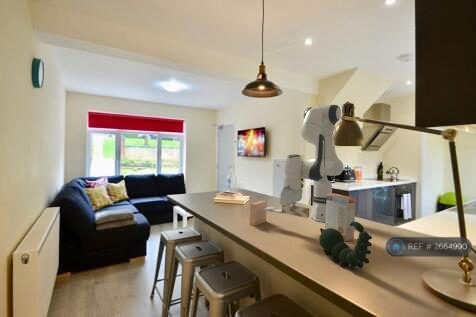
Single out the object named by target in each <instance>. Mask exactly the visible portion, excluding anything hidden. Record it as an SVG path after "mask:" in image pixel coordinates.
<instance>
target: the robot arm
mask: <svg viewBox="0 0 476 317" xmlns="http://www.w3.org/2000/svg"><path fill="white" fill-rule="evenodd" d="M341 116H342V111H341V107H340V106H339V105H338V104H321V105H316V106H311V107H307V108H306V109H305V110H304V112H303V121H302V124H301V129H300V135H301V137H302V139H303V140H305V141H306V142H308V143H310V144H312V145H314V147H315V155H314V157H311V158H309V159H308V160H307V161H306V160H303V159H302V156H301V155H300V154H288V155H287V156H286V157H285V160H284V168H283V169H284V170H283V171H284V177H283V184H282V185H283V188H282V189H281V191H280V197H279V204H280V205H281V206H282V205H286V207H287V212H291V208H290V206H291V205H293V206H297V205H296V204H297V202H300V201H302V198H303V192H304V191H303V188H304V187H305V186H304V182H301V181H302V179H304V180H310V181H312V182H313V195H312V198H311V199H312V206H311V207H312V208H311V213H310V214H309V218H310V219H312V220H314V221H316V222H322V223H325V221H326V200H327V194H332V193H333V184H332V183H331V181H329V179H328V176H329V177H330V176H331V177H332V176H334V177H335V176H340V175H342V174H341V173H343V171H344V163H343V162H342V160H340V158H339V157H338V155H337V152H336V145H335V146H333V145H332V135H333V131H334V129H335V130H336V124H337V123H338V121H339V120H341Z"/></svg>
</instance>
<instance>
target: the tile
mask: <svg viewBox="0 0 476 317" xmlns="http://www.w3.org/2000/svg"><path fill="white" fill-rule="evenodd" d="M267 203H268V202H267V200H266V201H265V200H258V201H255V202H252V203H250V204H249V225H251V226H253V227H255V226H258V225H260V224H263V223H266V222H267V210H264V208H268V206H267Z"/></svg>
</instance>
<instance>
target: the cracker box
mask: <svg viewBox="0 0 476 317" xmlns="http://www.w3.org/2000/svg"><path fill="white" fill-rule="evenodd" d="M356 201H357V200H356V197H351V196H348V195H343V194H339V193H333V192H332V194H327V200H326V221H325V222H324V223H325V224H324V226H325V227H324V230H325V229H328V228H333V229H336V230H338V231H339V232H340V233H341V234H342V236H343V238H344V242H352V241H354V238H355V227H354V226H350V223H351V222H356V206H357V205H356Z"/></svg>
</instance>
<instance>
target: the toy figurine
mask: <svg viewBox="0 0 476 317" xmlns="http://www.w3.org/2000/svg"><path fill="white" fill-rule="evenodd" d="M350 226H354V229H355V230H356V231H357V232H358V238H357V239H356V244H355V245H354V249H352V248H350V246H349V245H348V244H347V243H346V241H344V238H343V236H342V234H341V233H340V232H339V231H338V230H336V229H333V228H328V229H325V228H321V227H320V228H319V231H320V234H319V245H320V246H321V248H322V249H323V253H324V254H326V255H328V256H330V259H331V260H332V261H337V260H339V262H338V264H339V266H340V267H343V268H344V267H345V266H348V268H349V270H354V269H355V268H356V267H357V268H360V269H362V268H363V267H364V264H369V263H370V259H369V258H367V255H371V254H372V251H371V250H370V249H368V248H369V247H372V246H373V244H372V242H371V241H370V240H373V237H372V235H370V233H368V232H367V231H365V229H364V226H363V224H362V223H361V222H358V221H355V222H351V223H350Z"/></svg>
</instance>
